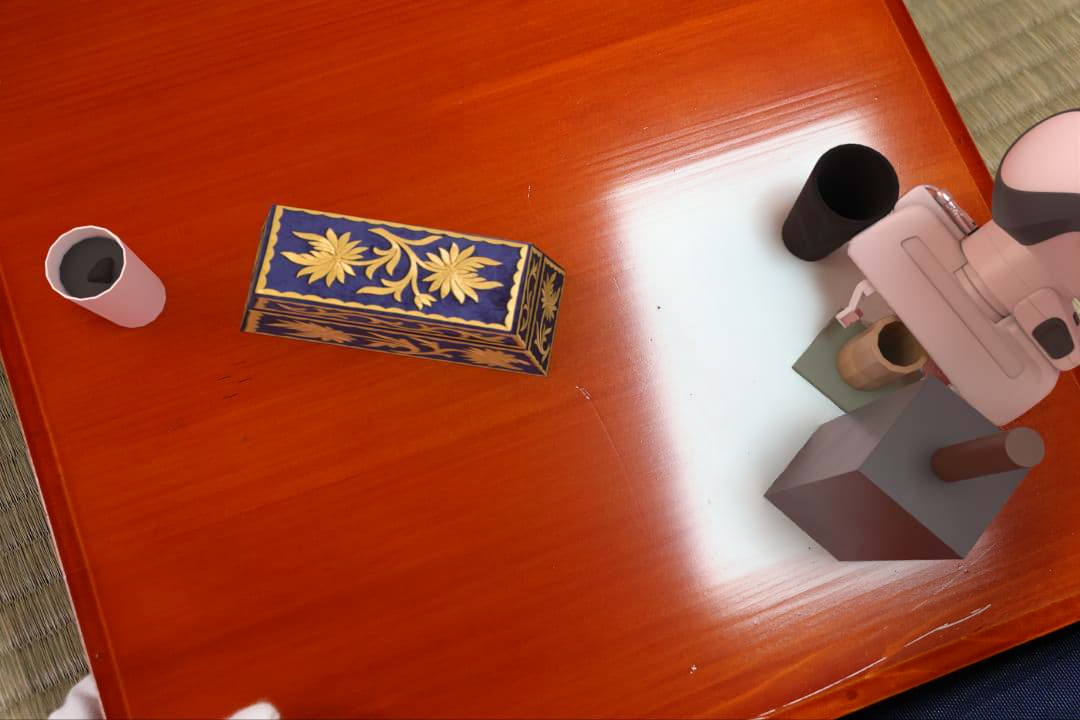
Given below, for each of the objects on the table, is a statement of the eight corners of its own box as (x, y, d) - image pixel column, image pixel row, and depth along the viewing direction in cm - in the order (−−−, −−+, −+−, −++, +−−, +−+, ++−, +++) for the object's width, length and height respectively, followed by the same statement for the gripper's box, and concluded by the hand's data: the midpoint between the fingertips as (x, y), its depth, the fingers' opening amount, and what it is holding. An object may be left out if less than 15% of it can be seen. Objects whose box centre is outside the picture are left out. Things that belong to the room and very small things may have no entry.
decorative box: (262, 225, 84) (234, 186, 76) (566, 271, 84) (573, 237, 76) (237, 331, 82) (205, 302, 73) (551, 378, 82) (556, 355, 73)
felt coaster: (922, 375, 84) (925, 373, 83) (874, 436, 82) (876, 435, 81) (840, 308, 85) (842, 306, 84) (791, 367, 83) (793, 366, 83)
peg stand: (896, 487, 81) (1130, 440, 51) (839, 561, 79) (1047, 558, 49) (820, 424, 82) (1005, 341, 52) (763, 495, 80) (919, 452, 50)
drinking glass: (174, 266, 83) (131, 226, 73) (166, 333, 81) (121, 301, 72) (104, 264, 83) (50, 224, 73) (94, 331, 81) (39, 299, 71)
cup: (760, 210, 87) (799, 155, 75) (829, 191, 88) (879, 133, 76) (787, 280, 85) (832, 234, 74) (858, 259, 86) (913, 211, 74)
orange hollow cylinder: (900, 360, 83) (941, 339, 75) (871, 402, 82) (909, 384, 74) (856, 327, 84) (892, 303, 76) (826, 368, 83) (860, 347, 75)
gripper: (924, 174, 70) (792, 277, 78) (1096, 378, 66) (939, 465, 74) (939, 170, 75) (812, 268, 83) (1099, 360, 71) (951, 443, 79)
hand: (873, 363), depth 78 cm, fingers open, 8 cm apart
